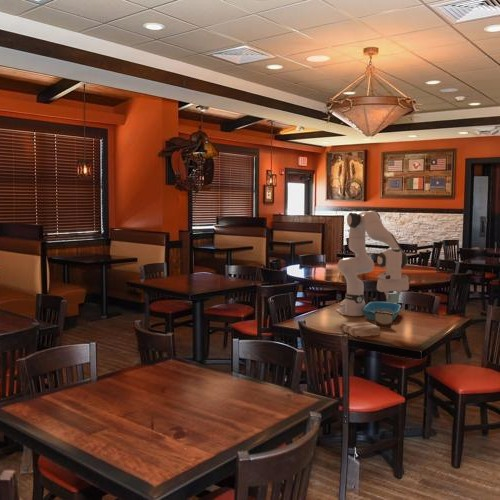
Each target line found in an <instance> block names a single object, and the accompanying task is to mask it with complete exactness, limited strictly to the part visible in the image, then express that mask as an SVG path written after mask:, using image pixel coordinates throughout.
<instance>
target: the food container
mask: <svg viewBox="0 0 500 500" xmlns="http://www.w3.org/2000/svg"><path fill="white" fill-rule="evenodd" d="M374 314H375V319H376V321H375V325H376V326H378V327H380V329H381V328H382V329H392V326H393V321H394V320H393V316H394V313H393V312H392V311H389V310H376V311H375V312H374ZM392 320H393V321H392Z"/></svg>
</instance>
